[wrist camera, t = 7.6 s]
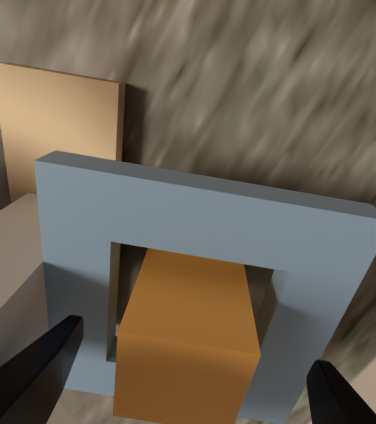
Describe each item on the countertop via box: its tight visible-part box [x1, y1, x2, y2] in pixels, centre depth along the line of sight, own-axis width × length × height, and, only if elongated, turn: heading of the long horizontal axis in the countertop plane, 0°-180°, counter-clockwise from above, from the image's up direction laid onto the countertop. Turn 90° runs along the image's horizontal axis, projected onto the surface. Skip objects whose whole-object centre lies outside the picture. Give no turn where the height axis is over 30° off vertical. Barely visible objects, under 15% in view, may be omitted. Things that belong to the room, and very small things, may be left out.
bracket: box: [0, 150, 376, 424], centre depth 10 cm, size 10×13×8 cm
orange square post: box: [113, 248, 261, 424], centre depth 11 cm, size 4×4×8 cm
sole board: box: [0, 62, 126, 203], centre depth 14 cm, size 14×5×1 cm, turn 171°
